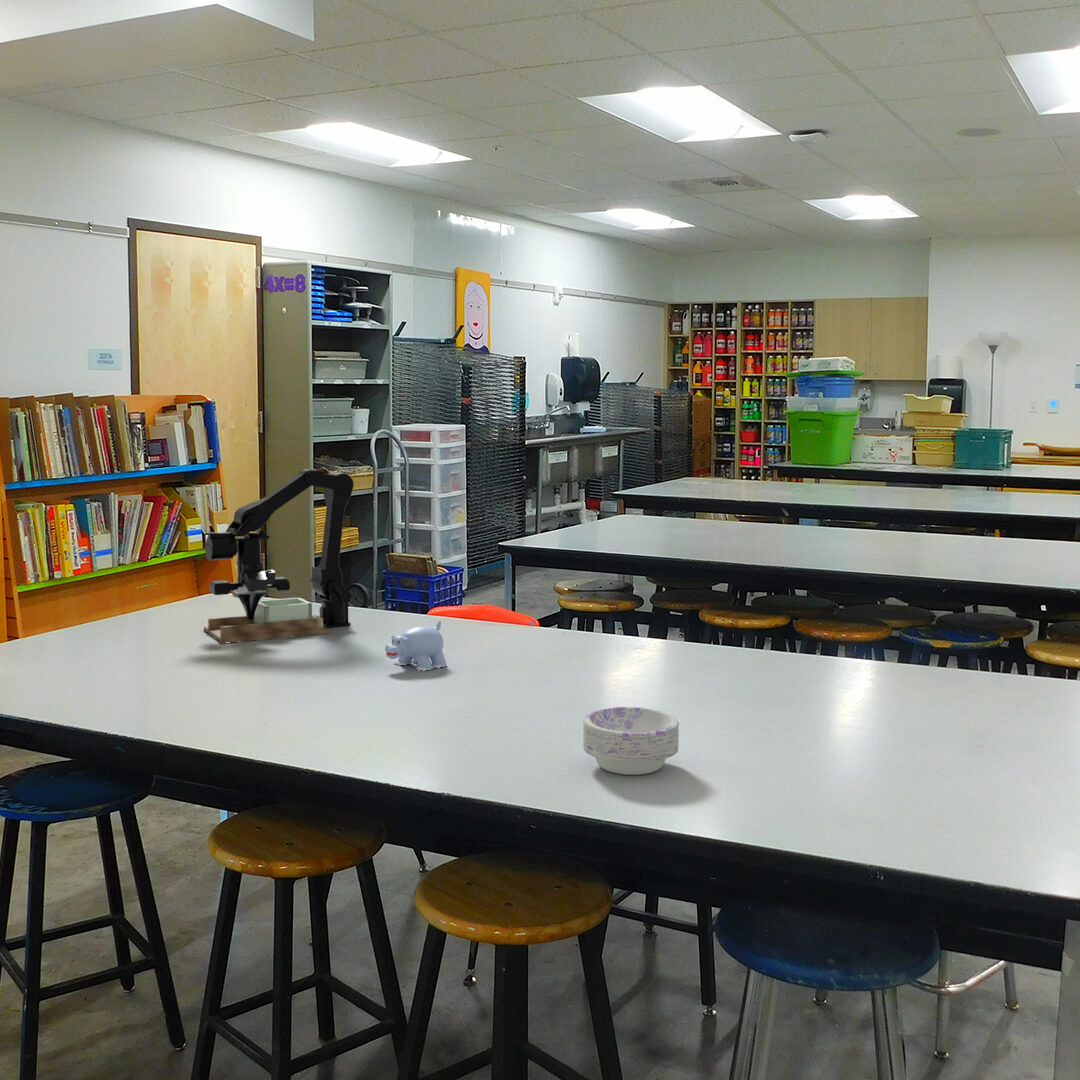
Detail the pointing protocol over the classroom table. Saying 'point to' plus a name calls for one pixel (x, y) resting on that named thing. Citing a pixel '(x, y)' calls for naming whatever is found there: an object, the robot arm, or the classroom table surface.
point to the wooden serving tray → (262, 628)
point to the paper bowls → (630, 739)
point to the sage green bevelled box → (282, 610)
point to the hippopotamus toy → (418, 648)
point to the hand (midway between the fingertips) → (250, 619)
